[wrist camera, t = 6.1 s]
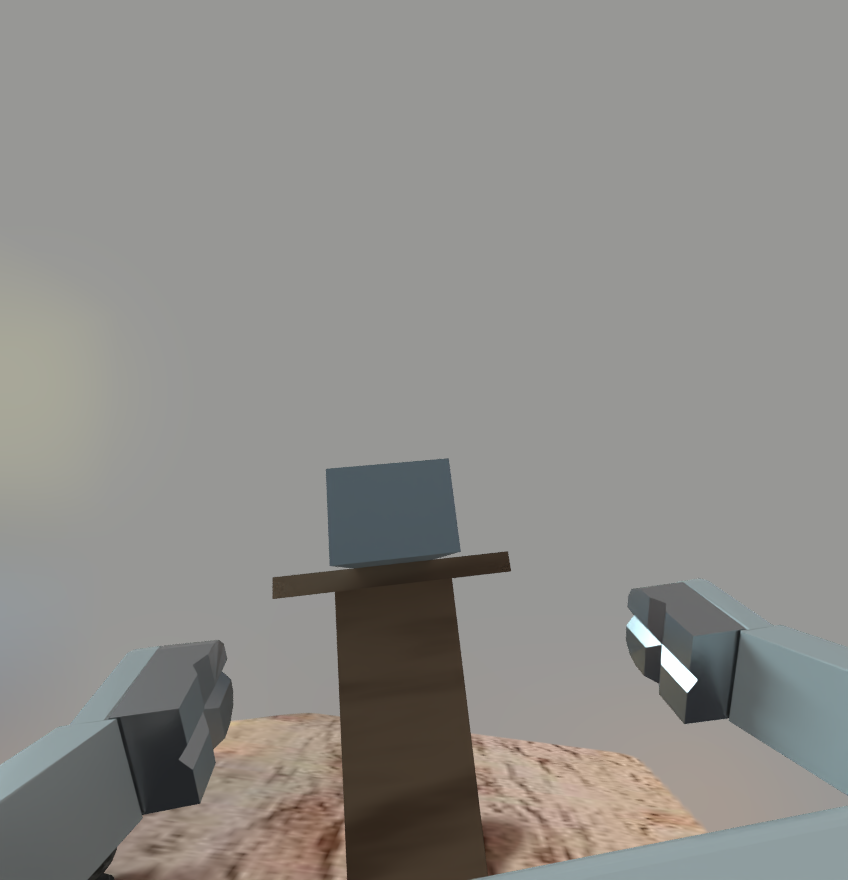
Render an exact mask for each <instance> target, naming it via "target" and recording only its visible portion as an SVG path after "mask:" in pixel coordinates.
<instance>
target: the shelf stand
mask: <svg viewBox="0 0 848 880" xmlns="http://www.w3.org/2000/svg"><path fill="white" fill-rule="evenodd" d="M509 571H511V568H510V563H509V556H508V552H498V553H489V554H481V555H471V556H462V557H453V558H444V559H435V560H426V561H417V562H408V563H399V564H390V565H381V566H372V567H363V568H354V569H345V570H336V571H328V572H319V573H309V574H300V575H291V576H282V577H273V599H277V598H285V597H294V596H302V595H311V594H320V593H328V592H335V605H336V629H337V651H338V675H339V699H340V722H341V746H342V769H343V793H344V816H345V840H346V863H347V880H471V879H477V878H482V877H487V876H488V873H487V864H486V856H485V848H484V840H483V831H482V823H481V815H480V807H479V798H478V790H477V782H476V774H475V765H474V757H473V749H472V740H471V732H470V725H469V716H468V707H467V700H466V691H465V683H464V675H463V666H462V658H461V650H460V641H459V633H458V625H457V617H456V608H455V601H454V592H453V584H452V578H457V577H466V576H474V575H482V574H492V573H500V572H509Z"/></svg>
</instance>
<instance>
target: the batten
mask: <svg viewBox="0 0 848 880" xmlns="http://www.w3.org/2000/svg"><path fill="white" fill-rule="evenodd" d="M326 482H327V507H328V532H329V557H330V566H335V567H345V568H363V567H372V566H381V565H390V564H399V563H408V562H417V561H426V560H433V559H437V558H440V557H444V556H447V555H451V554H454V553H457V552H460V543H459V535H458V529H457V528H458V527H457V520H456V513H455V504H454V496H453V489H452V482H451V474H450V465H449V459H437V460H425V461H413V462H402V463H390V464H378V465H368V466H367V465H366V466H356V467H343V468H331V469H326Z"/></svg>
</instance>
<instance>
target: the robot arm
mask: <svg viewBox="0 0 848 880" xmlns="http://www.w3.org/2000/svg"><path fill="white" fill-rule="evenodd" d="M628 608H629V610H630V611H631V612H632V613H633V615H634V616H633V617H632V619H631V620H630V622H629V623H628V625H627V626H626V642H627V646H628V649H629V653H630V655H631V658H632V659H633V661H634V663H635V665H636V666H637V668H638V669H639V670H640V671H641V672H642V674H643V675H644V676H646V677H647V678H649V679H651V680H653V681H655V682H657V683H659V695H660V696H661V697H662V698H663V699H664V700H665V702H666V703H667V704H668V705H669V706H670V707H671V709H672V710H673V711H674V712H675V714H676V715H677V716H678V717H679V718H680V720H681V721H682V722H683V723H684V724H688V723H696V722H704V721H711V720H719V719H727V718H729V721H730V722H732V723H733V724H735V725H736V726H738V727H739V728H741V729H743V730H744V731H746V732H747V733H749V734H751V735H752V736H754V737H755V738H757V739H758V740H760V741H762V742H763V743H765V744H766V745H768V746H770V747H771V748H773V749H774V750H776V751H778V752H779V753H781V754H782V755H784V756H785V757H787V758H789V759H790V760H792V761H793V762H795V763H797V764H798V765H800V766H801V767H803V768H805V769H806V770H808V771H809V772H811V773H813V774H814V775H816V776H817V777H819V778H820V779H822V780H824V781H825V782H827V783H828V784H830V785H832V786H833V787H835V788H836V789H838V790H840V791H841V792H843V793H844V794H846V795H847V796H848V647H846V646H843V645H840V644H837V643H834V642H831V641H828V640H825V639H822V638H819V637H816V636H813V635H810V634H807V633H804V632H801V631H798V630H795V629H792V628H789V627H786V626H783V625H778V626H774V625H772V624H771V623H769V622H768V621H766V620H765V619H763V618H762V617H760V616H759V615H757V614H756V613H755V612H753V611H752V610H750V609H749V608H747V607H746V606H744V605H743V604H742V603H740V602H739V601H737V600H736V599H734V598H733V597H731V596H730V595H729V594H727V593H726V592H724V591H723V590H721V589H720V588H718V587H717V586H715V585H714V584H713V583H711V582H710V581H707V580H704V579H693V580H687V581H681V582H677V583H672V584H664V585H657V586H650V587H643V588H636V589H632V590H631V592H630V594H629V596H628ZM226 661H227V656H226V651H225V647H224V644H223V643H222V642H221V641H220V640H214V641H205V642H194V643H185V644H175V645H165V646H157V647H149V648H141V649H135V650H133V651H131V652H129V653H127V654H126V655H125V657H124V658H123V659H122V660H121V662H120V663H119V664H118V665H117V667H116V668H115V669H114V670H113V671H112V673H111V674H110V675H109V676H108V678H107V679H106V680H105V681H104V683H103V684H102V685H101V686H100V688H99V689H98V690H97V691H96V693H95V694H94V695H93V696H92V698H91V699H90V700H89V701H88V703H87V704H86V705H85V706H84V707H83V709H82V710H81V711H80V713H79V714H78V715H77V717H75V719H74V720H73V721H72V722H71V724H70V725H68V726H61V727H58V728H56V729H55V730H53V731H52V732H50V733H48V734H47V735H45V736H44V737H42V738H41V739H39V740H38V741H37V742H35V743H33V744H32V745H30V746H28V747H27V748H25V749H24V750H22V751H21V752H19V753H18V754H16V755H15V756H13V757H12V758H10V759H9V760H7V761H6V762H4V763H2V764H1V765H0V880H88V879H89V877H90V876H91V875H92V874H93V873H94V872H95V871H96V870H97V869H98V867H99V866H100V865H101V864H102V863H103V862H104V861H105V860H106V859H107V857H108V856H109V855H110V854H111V853H112V852H113V851H114V850H115V849H116V847H117V846H118V845H119V844H120V843H121V842H122V841H123V840H124V839H125V837H126V836H127V835H128V834H129V833H130V832H131V831H132V830H133V829H134V827H135V826H136V825H137V824H138V823H139V822H140V821H141V820H142V815H144V814H149V813H155V812H160V811H165V810H170V809H175V808H180V807H185V806H190V805H195V804H200V803H201V800H202V797H203V795H204V792H205V789H206V787H207V784H208V782H209V779H210V776H211V774H212V771H213V768H214V766H215V763H216V762H215V757H214V752H213V749H214V748H215V747H216V746H217V745H218V744H219V743H220V742H221V741H222V740H223V739H224V738H225V736H226V734H227V731H228V728H229V725H230V721H231V715H232V709H233V688H232V682H231V679H230V678H229V677H228V676H226V675H225V674H224V673H223V672H222V669H223V667H224V665H225V663H226ZM471 880H848V806H844V807H839V808H833V809H828V810H823V811H818V812H814V813H808V814H803V815H798V816H793V817H788V818H782V819H777V820H772V821H767V822H762V823H757V824H752V825H747V826H742V827H737V828H731V829H726V830H721V831H716V832H711V833H706V834H701V835H695V836H690V837H685V838H680V839H675V840H670V841H665V842H660V843H655V844H649V845H644V846H639V847H634V848H629V849H624V850H619V851H614V852H609V853H604V854H599V855H594V856H588V857H583V858H578V859H573V860H568V861H563V862H558V863H553V864H548V865H543V866H538V867H532V868H527V869H522V870H517V871H512V872H507V873H502V874H497V875H492V876H487V877H482V878H477V879H471Z"/></svg>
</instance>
